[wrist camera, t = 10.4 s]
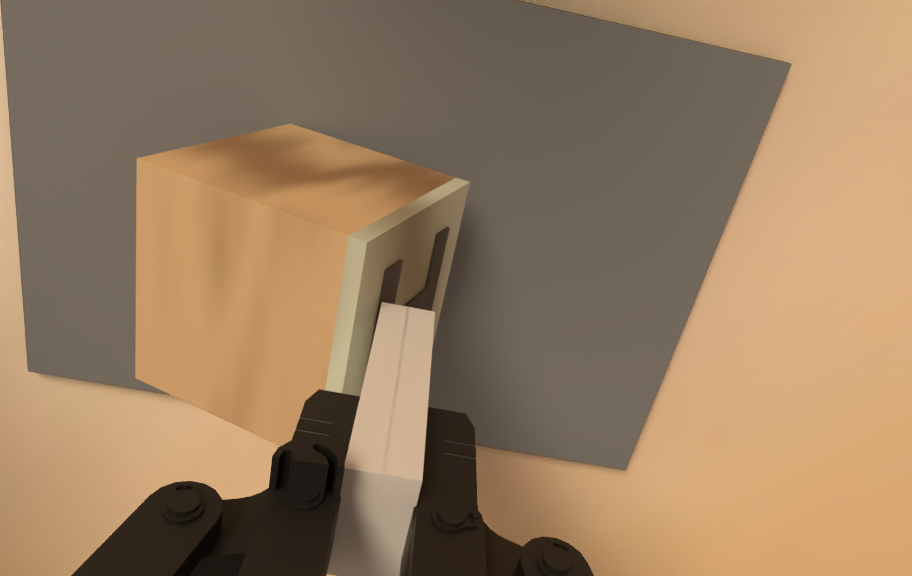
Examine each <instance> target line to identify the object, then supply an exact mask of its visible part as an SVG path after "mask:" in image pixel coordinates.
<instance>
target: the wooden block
mask: <svg viewBox="0 0 912 576" xmlns="http://www.w3.org/2000/svg"><path fill="white" fill-rule="evenodd" d="M469 185H470V182H468V181H465V180H462V179H459V178H456V177H453V176H450V175H447V174H444V173H441V172H438V171H435V170H432V169H428V168H425V167H422V166H419V165H416V164H413V163H410V162H407V161H404V160H401V159H398V158H395V157H392V156H389V155H386V154H382V153H379V152H376V151H373V150H370V149H367V148H364V147H361V146H358V145H355V144H352V143H349V142H346V141H343V140H339V139H336V138H333V137H330V136H327V135H324V134H321V133H318V132H315V131H312V130H309V129H306V128H303V127H300V126H297V125H293V124H286V125H282V126H277V127H273V128H269V129H264V130H260V131H255V132H251V133H246V134H242V135H238V136H233V137H229V138H224V139H220V140H215V141H211V142H207V143H202V144H198V145H193V146H189V147H184V148H180V149H176V150H171V151H167V152H162V153H158V154H153V155H149V156H145V157H140V158H137V187H136V351H135V378H136V379H139V380H141V381H143V382H145V383H147V384H149V385H151V386H153V387H156V388H158V389H160V390H162V391H164V392H166V393H168V394H171V395H173V396H175V397H177V398H179V399H181V400H183V401H186V402H188V403H190V404H192V405H194V406H196V407H198V408H200V409H203V410H205V411H207V412H209V413H211V414H213V415H215V416H218V417H220V418H222V419H224V420H226V421H228V422H230V423H233V424H235V425H237V426H239V427H241V428H243V429H245V430H247V431H250V432H252V433H254V434H256V435H258V436H260V437H262V438H265V439H267V440H269V441H271V442H273V443H275V444H277V445H280V446H282V445H284V444H285V443H287V442H289V441H291V440H292V438H293V435H294V432H295V430H296V426H297V423H298V420H299V419H300V415H301V412H302V409H303V406H304V403H305V401H306V400H307V399H308V398H309V397H310V396H312V395H313V394H314V393H315V392H316V391H317V390H319V389H320V390H326V391H332V392H338V393H343V394H349V395H355V396H360V395H361V391H362V387H363V382H364V378H365V374H366V369H367V365H368V361H369V356H370V352H371V348H372V343H373V339H374V335H375V330H376V326H377V322H378V317H379V313H380V309H381V304H382V302H385V303H391V304H396V305H401V306H407V307H412V308H417V309H423V310H428V311H433V312H435V319H434V332H433V343H434V338H435V334H436V330H437V325H438V321H439V316H440V312H441V308H442V303H443V299H444V294H445V290H446V286H447V281H448V277H449V273H450V268H451V264H452V259H453V255H454V251H455V246H456V242H457V237H458V233H459V229H460V224H461V220H462V215H463V211H464V207H465V202H466V198H467V193H468V189H469ZM432 347H433V346H432Z"/></svg>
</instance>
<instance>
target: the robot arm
mask: <svg viewBox="0 0 912 576" xmlns="http://www.w3.org/2000/svg"><path fill="white" fill-rule="evenodd" d="M434 319H435V312H433V311H428V310H423V309H417V308H412V307H407V306H401V305H396V304H391V303H385V302H382V304H381V309H380V313H379V317H378V322H377V326H376V330H375V335H374V339H373V343H372V348H371V352H370V356H369V361H368V365H367V369H366V374H365V378H364V382H363V387H362V391H361V395H360V396H355V395H349V394H343V393H338V392H332V391H326V390H320V389H319V390H317V391H316V392H315V393H314V394H313V395H312V396H310V397H309V398H308V399H307V400H306V401H305V403H304V406H303V409H302V412H301V415H300V419H299V420H298V423H297V426H296V430H295V432H294V435H293V438H292V440H291V441H289V442H287V443H285V444H284V445H282V446H280V447H279V448H278V449H277V451H276V452H275V453H274V455H273V456H272V465H271V474H270V482H269V488H268V489H266V490H265V491H263V492H261V493H259V494H256V495H253V496H251V497H245V498H239V499H228V500H222V498H221V497H220V496H219V494H218V493H217V491H216V490H215V489H213V488H211V487H209V486H208V485H206V484H203V483H198V482H193V481H186V482H175V483H172V484H169V485H166V486H164V487H161V488H160V489H158V490H157V491H155V492H154V493H153V494H151V495H150V496H149V497H148V498H147V499H146V500H145V501H144V502H143V503H142V504H141V505H140V506H139V507H138V508H137V509H136V510H135V511H134V512H133V513H132V514H131V515H130V516H129V517H128V518H127V519H126V520H125V521H124V522H123V523H122V524H121V525H120V527H119V528H118V529H117V530H116V531H115V532H114V533H113V534H112V535H111V536H110V537H109V538H108V539H107V540H106V541H105V542H104V543H103V544H102V545H101V546H100V547H99V548H98V549H97V550H96V551H95V552H94V553H93V554H92V555H91V556H90V557H89V558H88V559H87V560H86V561H85V562H84V563H83V564H82V565H81V566H80V567H79V568H78V569H77V570H76V571H75V572H74V573H73V574H72V575H71V576H326V575H327V574H331V575H337V576H594V575H593V573H592V571H591V569H590V567H589V565H588V563H587V561H586V560H585V559H584V557H583V556H582V554H581V553H580V552H579V551H578V550H576V549H575V548H574V547H573V546H571V545H570V544H569V543H566V542H564V541H562V540H559V539H557V538H550V537H539V538H535V539H532V540H530V541H529V542H528V543H526V544H525V545H524V547H522V546H520V545H518V544H516V543H513V542H511V541H509V540H506V539H505V538H503V537H501V536H499V535H497V534H496V533H495V532H493V531H492V530H491V529H490V528H489V527H488V526H487V525H486V524H485V523H484V521H483V518H482V515H481V513H480V512H479V511H478V507H477V482H476V460H475V458H476V447H475V428H474V426H473V424H472V423H471V421H470V419H469V418H468V416H467V414H466V413H461V412H455V411H449V410H443V409H438V408H432V407H428V399H429V386H430V373H431V359H432V346H433V332H434Z"/></svg>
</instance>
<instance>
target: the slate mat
mask: <svg viewBox="0 0 912 576" xmlns="http://www.w3.org/2000/svg"><path fill="white" fill-rule="evenodd" d="M0 1H1V15H2V28H3V41H4V55H5V68H6V82H7V95H8V108H9V122H10V135H11V149H12V162H13V175H14V189H15V202H16V216H17V229H18V243H19V256H20V269H21V283H22V296H23V310H24V323H25V336H26V350H27V363H28V371H29V372H35V373H41V374H48V375H54V376H60V377H66V378H72V379H78V380H84V381H90V382H96V383H102V384H108V385H114V386H120V387H126V388H132V389H138V390H144V391H150V392H156V393H162V394H168V393H166V392H164V391H162V390H160V389H158V388H156V387H153V386H151V385H149V384H147V383H145V382H143V381H141V380H139V379H136V378H135V351H136V187H137V158H140V157H145V156H149V155H153V154H158V153H162V152H167V151H171V150H176V149H180V148H184V147H189V146H193V145H198V144H202V143H207V142H211V141H215V140H220V139H224V138H229V137H233V136H238V135H242V134H246V133H251V132H255V131H260V130H264V129H269V128H273V127H277V126H282V125H286V124H293V125H297V126H300V127H303V128H306V129H309V130H312V131H315V132H318V133H321V134H324V135H327V136H330V137H333V138H336V139H339V140H343V141H346V142H349V143H352V144H355V145H358V146H361V147H364V148H367V149H370V150H373V151H376V152H379V153H382V154H386V155H389V156H392V157H395V158H398V159H401V160H404V161H407V162H410V163H413V164H416V165H419V166H422V167H425V168H428V169H432V170H435V171H438V172H441V173H444V174H447V175H450V176H453V177H456V178H459V179H462V180H465V181H468V182H470V185H469V189H468V193H467V198H466V202H465V207H464V211H463V215H462V220H461V224H460V229H459V233H458V237H457V242H456V246H455V251H454V255H453V259H452V264H451V268H450V273H449V277H448V281H447V286H446V290H445V294H444V299H443V303H442V308H441V312H440V316H439V321H438V325H437V330H436V334H435V338H434V343H433V347H432V359H431V373H430V386H429V399H428V407H432V408H438V409H443V410H449V411H455V412H461V413H466V414H467V416H468V418H469V419H470V421H471V423H472V424H473V426H474V428H475V445H477V446H483V447H489V448H495V449H501V450H507V451H513V452H519V453H525V454H531V455H538V456H544V457H550V458H556V459H562V460H568V461H574V462H580V463H586V464H592V465H598V466H604V467H610V468H616V469H622V470H626V467H627V465H628V463H629V460H630V458H631V455H632V453H633V450H634V448H635V445H636V443H637V441H638V438H639V436H640V433H641V431H642V428H643V426H644V423H645V421H646V419H647V416H648V414H649V411H650V409H651V406H652V404H653V401H654V399H655V397H656V394H657V392H658V389H659V387H660V384H661V382H662V379H663V377H664V375H665V372H666V370H667V367H668V365H669V362H670V360H671V357H672V355H673V353H674V350H675V348H676V345H677V343H678V340H679V338H680V335H681V333H682V331H683V328H684V326H685V323H686V321H687V318H688V316H689V313H690V311H691V309H692V306H693V304H694V301H695V299H696V296H697V294H698V292H699V289H700V287H701V284H702V282H703V279H704V277H705V274H706V272H707V270H708V267H709V265H710V262H711V260H712V257H713V255H714V252H715V250H716V248H717V245H718V243H719V240H720V238H721V235H722V233H723V230H724V228H725V226H726V223H727V221H728V218H729V216H730V213H731V211H732V208H733V206H734V204H735V201H736V199H737V196H738V194H739V191H740V189H741V186H742V184H743V182H744V179H745V177H746V174H747V172H748V169H749V167H750V164H751V162H752V160H753V157H754V155H755V152H756V150H757V147H758V145H759V142H760V140H761V138H762V135H763V133H764V130H765V128H766V125H767V123H768V120H769V118H770V116H771V113H772V111H773V108H774V106H775V103H776V101H777V98H778V96H779V94H780V91H781V89H782V86H783V84H784V81H785V79H786V76H787V74H788V72H789V69H790V67H791V64H790V63H787V62H783V61H779V60H775V59H770V58H766V57H762V56H757V55H753V54H749V53H744V52H740V51H736V50H731V49H727V48H723V47H718V46H714V45H710V44H705V43H701V42H697V41H692V40H688V39H684V38H679V37H675V36H671V35H666V34H662V33H658V32H653V31H649V30H645V29H640V28H636V27H632V26H627V25H623V24H619V23H614V22H610V21H605V20H601V19H597V18H592V17H588V16H584V15H579V14H575V13H571V12H566V11H562V10H558V9H553V8H549V7H545V6H540V5H536V4H532V3H527V2H523V1H519V0H0ZM168 395H171V394H168Z"/></svg>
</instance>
